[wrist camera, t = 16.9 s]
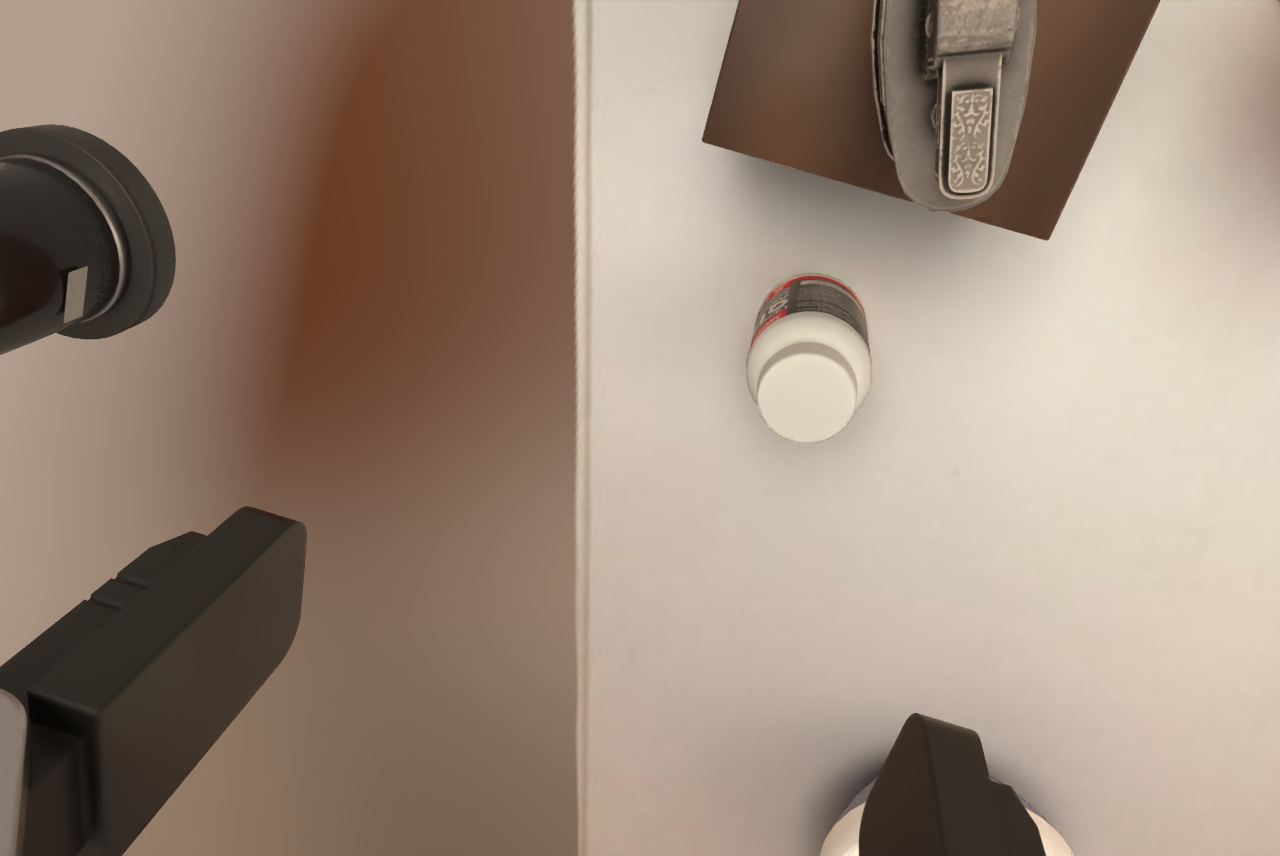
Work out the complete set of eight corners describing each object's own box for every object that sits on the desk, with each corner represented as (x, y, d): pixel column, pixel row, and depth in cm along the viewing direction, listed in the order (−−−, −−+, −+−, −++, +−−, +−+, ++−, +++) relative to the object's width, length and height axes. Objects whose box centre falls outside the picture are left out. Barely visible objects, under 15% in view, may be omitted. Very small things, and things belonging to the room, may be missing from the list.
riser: (733, 108, 41) (700, 142, 30) (803, -142, 36) (793, -208, 25) (989, 180, 40) (1049, 242, 29) (1092, -66, 35) (1208, -101, 25)
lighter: (871, -111, 26) (894, -176, 17) (993, -127, 25) (1083, -203, 16) (868, 170, 29) (887, 238, 20) (976, 163, 29) (1044, 230, 20)
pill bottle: (767, 261, 43) (753, 324, 35) (877, 281, 43) (891, 350, 34) (747, 363, 46) (729, 445, 37) (851, 383, 45) (858, 471, 36)
